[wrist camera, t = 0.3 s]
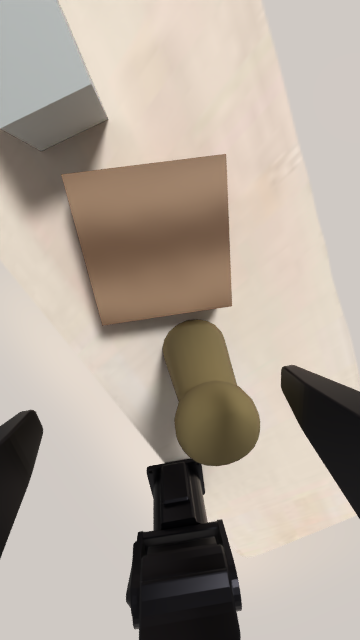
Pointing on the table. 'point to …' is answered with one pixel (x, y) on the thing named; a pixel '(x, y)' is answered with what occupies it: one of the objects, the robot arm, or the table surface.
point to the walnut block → (154, 237)
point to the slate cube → (43, 76)
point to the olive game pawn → (208, 396)
